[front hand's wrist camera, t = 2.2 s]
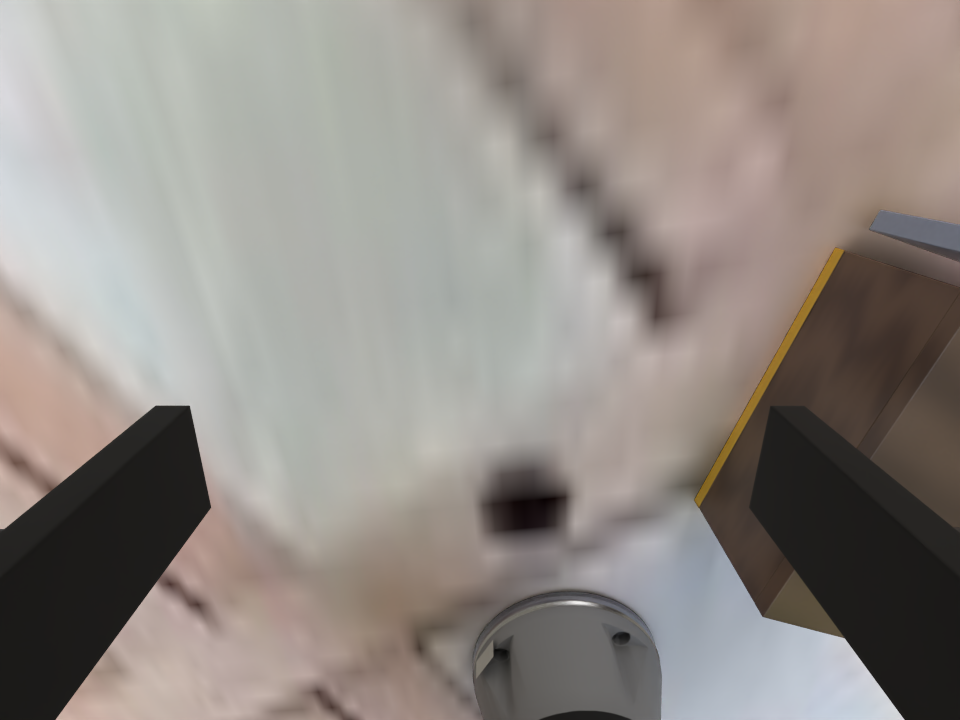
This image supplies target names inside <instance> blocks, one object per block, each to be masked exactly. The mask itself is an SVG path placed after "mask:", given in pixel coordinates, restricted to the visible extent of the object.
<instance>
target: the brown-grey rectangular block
mask: <svg viewBox="0 0 960 720" xmlns="http://www.w3.org/2000/svg"><path fill="white" fill-rule="evenodd" d="M770 406H805V407H806V408H808V409H809V410H810V411H811V412H812V413H814V414H815V415H816V416H817V417H819V418H820V419H821V420H822V421H824V422H825V423H826V424H827V425H828V426H830V427H831V428H832V429H833V430H835V431H836V432H837V433H838V434H839V435H841V436H842V437H843V438H844V439H846V440H847V441H848V442H849V443H850V444H852V445H853V446H854V447H855V448H857V449H858V450H859V451H860V452H862V453H863V454H864V455H865V456H866V457H868V458H869V459H870V460H871V461H873V462H874V463H875V464H876V465H877V466H879V467H880V468H881V469H882V470H884V471H885V472H886V473H887V474H889V475H890V476H891V477H892V478H893V479H895V480H896V481H897V482H898V483H900V484H901V485H902V486H903V487H904V488H906V489H907V490H908V491H909V492H911V493H912V494H913V495H914V496H915V497H917V498H918V499H919V500H920V501H922V502H923V503H924V504H925V505H927V506H928V507H929V508H930V509H931V510H933V511H934V512H935V513H936V514H938V515H939V516H940V517H941V518H942V519H944V520H945V521H946V522H947V523H949V524H950V525H951V526H952V527H960V287H957V286H953V285H950V284H947V283H944V282H941V281H938V280H935V279H932V278H928V277H925V276H922V275H919V274H916V273H913V272H910V271H907V270H903V269H900V268H897V267H894V266H891V265H888V264H885V263H882V262H878V261H875V260H872V259H869V258H866V257H863V256H860V255H857V254H854V253H850V252H847V251H845V250H842V249H839V248H835V249H834V251H833V253H832V255H831V256H830V258H829V260H828V262H827V264H826V265H825V267H824V269H823V271H822V273H821V274H820V276H819V278H818V280H817V281H816V283H815V285H814V287H813V289H812V290H811V292H810V294H809V296H808V298H807V299H806V301H805V303H804V305H803V307H802V308H801V310H800V312H799V314H798V315H797V317H796V319H795V321H794V323H793V324H792V326H791V328H790V330H789V332H788V333H787V335H786V337H785V339H784V340H783V342H782V344H781V346H780V348H779V349H778V351H777V353H776V355H775V357H774V358H773V360H772V362H771V364H770V366H769V367H768V369H767V371H766V373H765V374H764V376H763V378H762V380H761V382H760V383H759V385H758V387H757V389H756V391H755V392H754V394H753V396H752V398H751V400H750V401H749V403H748V405H747V407H746V408H745V410H744V412H743V414H742V416H741V417H740V419H739V421H738V423H737V425H736V426H735V428H734V430H733V432H732V433H731V435H730V437H729V439H728V441H727V442H726V444H725V446H724V448H723V450H722V451H721V453H720V455H719V457H718V459H717V460H716V462H715V464H714V466H713V467H712V469H711V471H710V473H709V475H708V476H707V478H706V480H705V482H704V484H703V485H702V487H701V489H700V491H699V492H698V494H697V496H696V498H695V500H694V501H695V503H696V504H697V506H698V508H700V510H701V512H702V514H703V515H704V517H705V519H706V520H707V522H708V524H709V526H710V527H711V529H712V531H713V532H714V534H715V536H716V538H717V539H718V541H719V543H720V544H721V546H722V548H723V550H724V551H725V553H726V555H727V556H728V558H729V560H730V562H731V563H732V565H733V567H734V568H735V570H736V572H737V574H738V575H739V577H740V579H741V580H742V582H743V584H744V586H745V587H746V589H747V591H748V592H749V594H750V596H751V598H752V599H753V601H754V602H755V605H756V606H757V608H758V610H759V611H760V613H761V615H762V616H763V617H765V618H769V619H773V620H777V621H781V622H784V623H788V624H792V625H796V626H800V627H804V628H807V629H811V630H815V631H819V632H823V633H827V634H831V635H834V636H838V637H842V638H844V636H843V635H842V634H841V632H840V631H839V630H838V628H837V627H836V626H835V624H834V623H833V621H832V620H831V619H830V617H829V616H828V615H827V613H826V612H825V611H824V609H823V608H822V606H821V605H820V604H819V602H818V601H817V600H816V598H815V597H814V596H813V594H812V593H811V591H810V590H809V589H808V587H807V586H806V585H805V583H804V582H803V581H802V579H801V578H800V576H799V575H798V574H797V572H796V571H795V570H794V568H793V567H792V566H791V564H790V563H789V561H788V560H787V559H786V557H785V556H784V555H783V553H782V552H781V551H780V549H779V548H778V547H777V545H776V544H775V542H774V541H773V540H772V538H771V537H770V536H769V534H768V533H767V532H766V530H765V529H764V527H763V526H762V525H761V523H760V522H759V521H758V519H757V518H756V517H755V515H754V514H753V512H752V511H751V510H750V508H749V505H750V500H751V495H752V491H753V486H754V481H755V476H756V472H757V467H758V462H759V457H760V453H761V448H762V443H763V438H764V434H765V429H766V424H767V419H768V414H769V410H770Z"/></svg>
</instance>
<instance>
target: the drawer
mask: <svg viewBox="0 0 960 720" xmlns="http://www.w3.org/2000/svg"><path fill="white" fill-rule="evenodd" d="M870 230H871V231H874V232H877V233H880V234H882V235H885V236H888V237H891V238H894V239H896V240H899V241H902V242H905V243H908V244H911V245H913V246H916V247H919V248H922V249H925V250H927V251H930V252H933V253H936V254H939V255H941V256H944V257H947V258H950V259H953V260H956V261H958V262H960V225H959V224H953V223H948V222H943V221H937V220H932V219H927V218H922V217H916V216H911V215H906V214H900V213H895V212H890V211H885V210H880V211H879V213H878V215H877V216H876V218H875V220H874V222H873V223H872V225H871V227H870Z"/></svg>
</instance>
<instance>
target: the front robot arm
mask: <svg viewBox="0 0 960 720" xmlns="http://www.w3.org/2000/svg"><path fill="white" fill-rule="evenodd" d="M210 508H211V505H210V500H209V495H208V491H207V486H206V481H205V476H204V472H203V467H202V462H201V457H200V453H199V448H198V443H197V438H196V434H195V429H194V424H193V419H192V415H191V410H190V406H155V407H154V408H152V409H151V410H150V411H149V412H148V413H146V414H145V415H144V416H143V417H141V418H140V419H139V420H138V421H136V422H135V423H134V424H133V425H132V426H130V427H129V428H128V429H127V430H125V431H124V432H123V433H122V434H121V435H119V436H118V437H117V438H116V439H114V440H113V441H112V442H111V443H110V444H108V445H107V446H106V447H105V448H103V449H102V450H101V451H100V452H98V453H97V454H96V455H95V456H94V457H92V458H91V459H90V460H89V461H87V462H86V463H85V464H84V465H83V466H81V467H80V468H79V469H78V470H76V471H75V472H74V473H73V474H71V475H70V476H69V477H68V478H67V479H65V480H64V481H63V482H62V483H60V484H59V485H58V486H57V487H56V488H54V489H53V490H52V491H51V492H49V493H48V494H47V495H46V496H45V497H43V498H42V499H41V500H40V501H38V502H37V503H36V504H35V505H33V506H32V507H31V508H30V509H29V510H27V511H26V512H25V513H24V514H22V515H21V516H20V517H19V518H18V519H16V520H15V521H14V522H13V523H11V524H10V525H9V526H8V527H7V528H5V529H0V720H55V719H56V718H57V717H58V715H59V714H60V713H61V711H62V710H63V709H64V707H65V706H66V705H67V703H68V702H69V700H70V699H71V698H72V696H73V695H74V694H75V692H76V691H77V690H78V688H79V687H80V685H81V684H82V683H83V681H84V680H85V679H86V677H87V676H88V675H89V673H90V672H91V670H92V669H93V668H94V666H95V665H96V664H97V662H98V661H99V660H100V658H101V657H102V655H103V654H104V653H105V651H106V650H107V649H108V647H109V646H110V645H111V643H112V642H113V640H114V639H115V638H116V636H117V635H118V634H119V632H120V631H121V630H122V628H123V627H124V626H125V624H126V623H127V621H128V620H129V619H130V617H131V616H132V615H133V613H134V612H135V611H136V609H137V608H138V606H139V605H140V604H141V602H142V601H143V600H144V598H145V597H146V596H147V594H148V593H149V591H150V590H151V589H152V587H153V586H154V585H155V583H156V582H157V581H158V579H159V578H160V576H161V575H162V574H163V572H164V571H165V570H166V568H167V567H168V566H169V564H170V563H171V561H172V560H173V559H174V557H175V556H176V555H177V553H178V552H179V551H180V549H181V548H182V547H183V545H184V544H185V542H186V541H187V540H188V538H189V537H190V536H191V534H192V533H193V532H194V530H195V529H196V527H197V526H198V525H199V523H200V522H201V521H202V519H203V518H204V517H205V515H206V514H207V512H208V511H209V510H210ZM749 508H750V510H751V511H752V512H753V514H754V515H755V517H756V518H757V519H758V521H759V522H760V523H761V525H762V526H763V527H764V529H765V530H766V532H767V533H768V534H769V536H770V537H771V538H772V540H773V541H774V542H775V544H776V545H777V547H778V548H779V549H780V551H781V552H782V553H783V555H784V556H785V557H786V559H787V560H788V561H789V563H790V564H791V566H792V567H793V568H794V570H795V571H796V572H797V574H798V575H799V576H800V578H801V579H802V581H803V582H804V583H805V585H806V586H807V587H808V589H809V590H810V591H811V593H812V594H813V596H814V597H815V598H816V600H817V601H818V602H819V604H820V605H821V606H822V608H823V609H824V611H825V612H826V613H827V615H828V616H829V617H830V619H831V620H832V621H833V623H834V624H835V626H836V627H837V628H838V630H839V631H840V632H841V634H842V635H843V636H844V638H845V639H846V640H847V642H848V643H849V645H850V646H851V647H852V649H853V650H854V651H855V653H856V654H857V655H858V657H859V658H860V660H861V661H862V662H863V664H864V665H865V666H866V668H867V669H868V670H869V672H870V673H871V675H872V676H873V677H874V679H875V680H876V681H877V683H878V684H879V685H880V687H881V688H882V690H883V691H884V692H885V694H886V695H887V696H888V698H889V699H890V700H891V702H892V703H893V705H894V706H895V707H896V709H897V710H898V711H899V713H900V714H901V715H902V717H903V718H904V719H905V720H960V527H952V526H951V525H950V524H949V523H947V522H946V521H945V520H944V519H942V518H941V517H940V516H939V515H938V514H936V513H935V512H934V511H933V510H931V509H930V508H929V507H928V506H927V505H925V504H924V503H923V502H922V501H920V500H919V499H918V498H917V497H915V496H914V495H913V494H912V493H911V492H909V491H908V490H907V489H906V488H904V487H903V486H902V485H901V484H900V483H898V482H897V481H896V480H895V479H893V478H892V477H891V476H890V475H889V474H887V473H886V472H885V471H884V470H882V469H881V468H880V467H879V466H877V465H876V464H875V463H874V462H873V461H871V460H870V459H869V458H868V457H866V456H865V455H864V454H863V453H862V452H860V451H859V450H858V449H857V448H855V447H854V446H853V445H852V444H850V443H849V442H848V441H847V440H846V439H844V438H843V437H842V436H841V435H839V434H838V433H837V432H836V431H835V430H833V429H832V428H831V427H830V426H828V425H827V424H826V423H825V422H824V421H822V420H821V419H820V418H819V417H817V416H816V415H815V414H814V413H812V412H811V411H810V410H809V409H808V408H806V407H805V406H770V410H769V414H768V419H767V424H766V429H765V434H764V438H763V443H762V448H761V453H760V457H759V462H758V467H757V472H756V476H755V481H754V486H753V491H752V495H751V500H750V505H749ZM473 683H474V688H475V694H476V698H477V701H478V704H479V707H480V710H481V713H482V716H483V719H484V720H661V686H662V674H661V667H660V660H659V655H658V652H657V649H656V646H655V643H654V640H653V637H652V635H651V633H650V631H649V629H648V627H647V626H646V624H645V623H644V622H643V621H642V620H641V618H640V617H638V616H637V615H636V614H635V613H634V612H633V611H631V610H630V609H629V608H627V607H626V606H624V605H622V604H620V603H618V602H616V601H614V600H611V599H609V598H606V597H603V596H599V595H595V594H590V593H583V592H556V593H548V594H543V595H539V596H535V597H532V598H529V599H526V600H523V601H521V602H519V603H516V604H515V605H513V606H511V607H509V608H507V609H506V610H504V611H503V612H501V613H500V614H499V615H498V616H496V617H495V618H494V619H493V620H492V621H491V622H490V623H489V624H488V625H487V627H486V628H485V629H484V630H483V632H482V634H481V635H480V637H479V639H478V641H477V644H476V646H475V650H474V656H473Z"/></svg>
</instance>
